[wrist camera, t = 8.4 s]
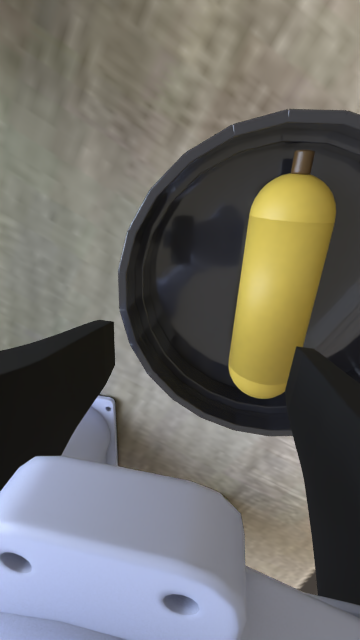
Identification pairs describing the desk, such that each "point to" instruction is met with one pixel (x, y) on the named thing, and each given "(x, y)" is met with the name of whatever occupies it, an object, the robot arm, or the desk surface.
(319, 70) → the desk surface
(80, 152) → the desk surface
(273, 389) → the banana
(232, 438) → the desk surface
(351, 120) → the pan
